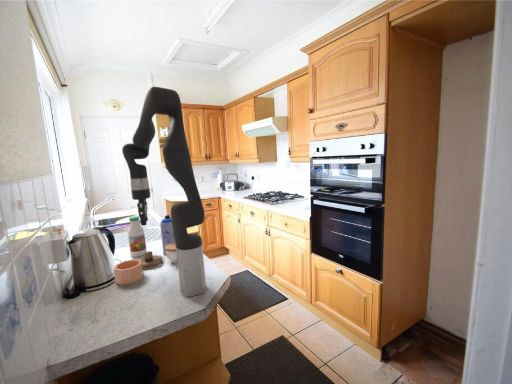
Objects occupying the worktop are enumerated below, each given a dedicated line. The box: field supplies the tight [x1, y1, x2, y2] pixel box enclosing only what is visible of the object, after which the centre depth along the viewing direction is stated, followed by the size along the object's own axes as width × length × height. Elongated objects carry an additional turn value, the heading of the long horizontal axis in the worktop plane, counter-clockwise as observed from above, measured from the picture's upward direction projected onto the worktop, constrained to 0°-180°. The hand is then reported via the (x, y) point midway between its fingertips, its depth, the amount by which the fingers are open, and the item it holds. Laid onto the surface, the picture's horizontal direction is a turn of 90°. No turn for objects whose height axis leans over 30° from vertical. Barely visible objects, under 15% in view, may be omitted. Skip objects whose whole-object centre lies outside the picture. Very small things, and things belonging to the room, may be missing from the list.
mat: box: [143, 255, 163, 271], centre depth 121 cm, size 11×11×1 cm
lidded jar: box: [165, 242, 178, 264], centre depth 123 cm, size 11×11×9 cm
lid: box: [139, 251, 163, 269], centre depth 120 cm, size 12×12×5 cm
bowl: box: [113, 258, 144, 286], centre depth 107 cm, size 10×10×6 cm
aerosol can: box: [159, 214, 175, 257], centre depth 132 cm, size 8×8×20 cm
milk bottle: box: [127, 215, 148, 258], centre depth 132 cm, size 8×8×20 cm
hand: (144, 223), depth 118 cm, fingers open, 8 cm apart
